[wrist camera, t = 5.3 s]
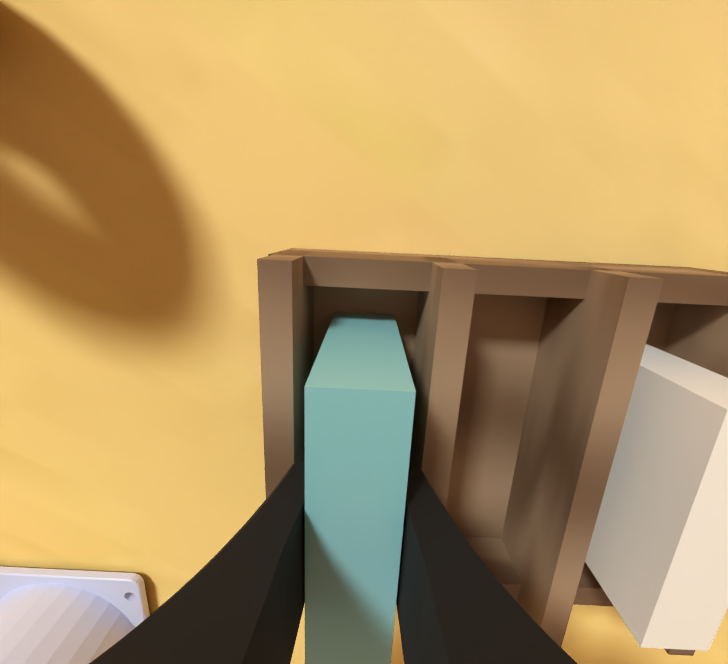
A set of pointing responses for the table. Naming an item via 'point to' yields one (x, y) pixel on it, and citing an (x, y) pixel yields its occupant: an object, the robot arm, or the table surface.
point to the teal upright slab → (355, 488)
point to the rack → (497, 387)
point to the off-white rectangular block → (668, 507)
